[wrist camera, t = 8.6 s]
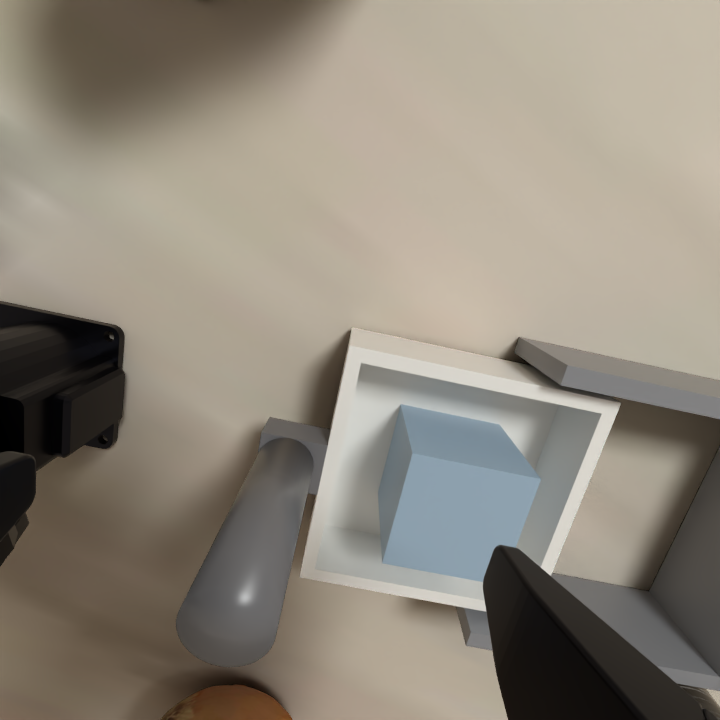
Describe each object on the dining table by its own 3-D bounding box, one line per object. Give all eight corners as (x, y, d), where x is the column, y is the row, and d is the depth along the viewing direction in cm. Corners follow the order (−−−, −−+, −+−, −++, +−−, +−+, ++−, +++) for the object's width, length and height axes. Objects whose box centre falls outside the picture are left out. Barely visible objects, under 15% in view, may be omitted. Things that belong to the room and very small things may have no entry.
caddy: (259, 514, 23) (156, 779, 11) (294, 314, 20) (203, 405, 9) (506, 561, 23) (639, 855, 12) (575, 375, 21) (834, 532, 9)
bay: (445, 564, 24) (466, 645, 19) (519, 336, 20) (567, 365, 16) (656, 604, 24) (728, 692, 20) (763, 390, 21) (883, 433, 16)
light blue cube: (377, 492, 22) (382, 563, 17) (400, 404, 20) (412, 453, 16) (470, 510, 22) (501, 585, 17) (499, 424, 21) (541, 479, 16)
